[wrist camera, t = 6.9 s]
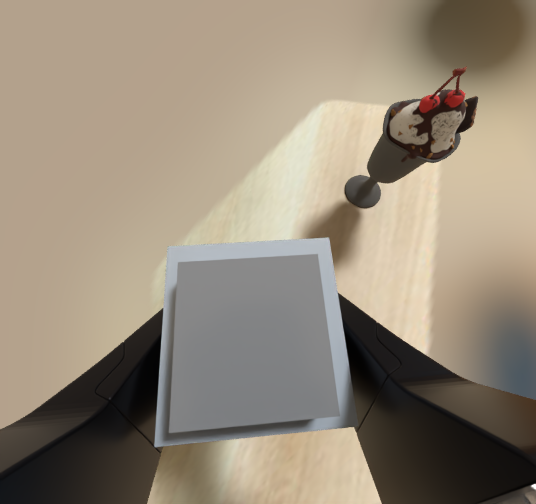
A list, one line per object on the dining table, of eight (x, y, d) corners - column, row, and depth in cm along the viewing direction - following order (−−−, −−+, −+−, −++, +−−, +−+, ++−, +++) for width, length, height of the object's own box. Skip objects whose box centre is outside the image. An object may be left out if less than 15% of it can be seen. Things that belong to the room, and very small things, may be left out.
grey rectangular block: (296, 345, 15) (379, 453, 4) (224, 351, 15) (129, 481, 4) (289, 275, 16) (340, 226, 6) (224, 279, 16) (151, 236, 6)
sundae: (330, 199, 26) (418, 70, 11) (350, 163, 27) (451, 8, 13) (375, 222, 25) (529, 117, 11) (393, 184, 27) (549, 46, 12)
